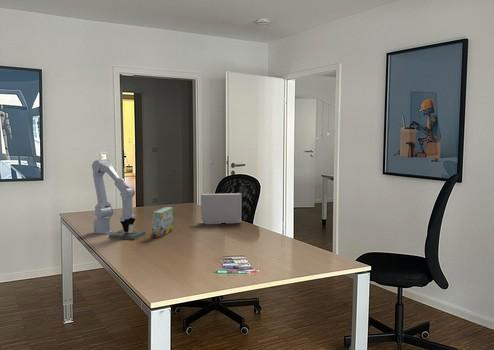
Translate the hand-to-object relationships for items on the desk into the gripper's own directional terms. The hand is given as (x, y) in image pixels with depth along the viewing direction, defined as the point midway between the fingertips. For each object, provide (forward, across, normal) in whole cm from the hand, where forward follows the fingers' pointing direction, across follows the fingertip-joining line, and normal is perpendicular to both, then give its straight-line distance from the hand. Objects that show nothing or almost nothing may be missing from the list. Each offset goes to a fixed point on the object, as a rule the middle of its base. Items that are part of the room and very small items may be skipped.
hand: (127, 231), depth 275 cm
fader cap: (+1, 0, 0) cm, 1 cm away
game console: (+3, +55, -41) cm, 68 cm away
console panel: (+3, 0, 0) cm, 3 cm away
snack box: (+3, +12, -17) cm, 21 cm away
